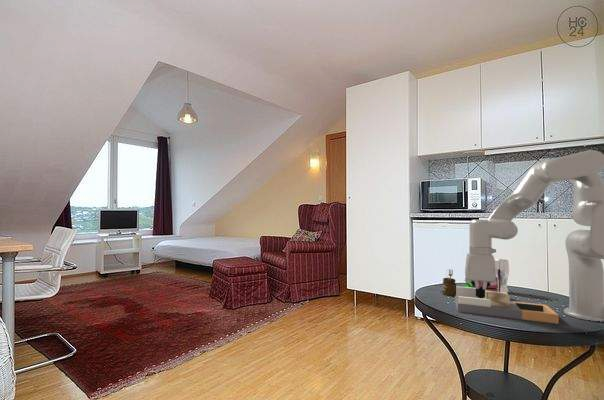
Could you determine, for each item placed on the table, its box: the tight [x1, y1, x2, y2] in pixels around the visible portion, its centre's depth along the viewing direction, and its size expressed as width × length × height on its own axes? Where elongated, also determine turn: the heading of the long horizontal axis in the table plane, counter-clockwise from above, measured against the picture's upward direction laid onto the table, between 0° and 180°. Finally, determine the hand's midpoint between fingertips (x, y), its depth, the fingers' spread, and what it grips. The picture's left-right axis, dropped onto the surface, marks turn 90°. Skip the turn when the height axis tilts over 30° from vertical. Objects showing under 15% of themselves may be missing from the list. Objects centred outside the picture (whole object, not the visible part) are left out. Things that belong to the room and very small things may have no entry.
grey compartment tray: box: [454, 285, 560, 325], centre depth 118 cm, size 31×12×7 cm, turn 68°
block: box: [485, 290, 511, 307], centre depth 119 cm, size 7×6×4 cm
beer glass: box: [494, 258, 510, 294], centre depth 149 cm, size 7×7×15 cm
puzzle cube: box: [465, 277, 498, 292], centre depth 140 cm, size 10×10×10 cm
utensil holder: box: [441, 268, 457, 297], centre depth 143 cm, size 6×6×12 cm
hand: (480, 298), depth 121 cm, fingers closed
